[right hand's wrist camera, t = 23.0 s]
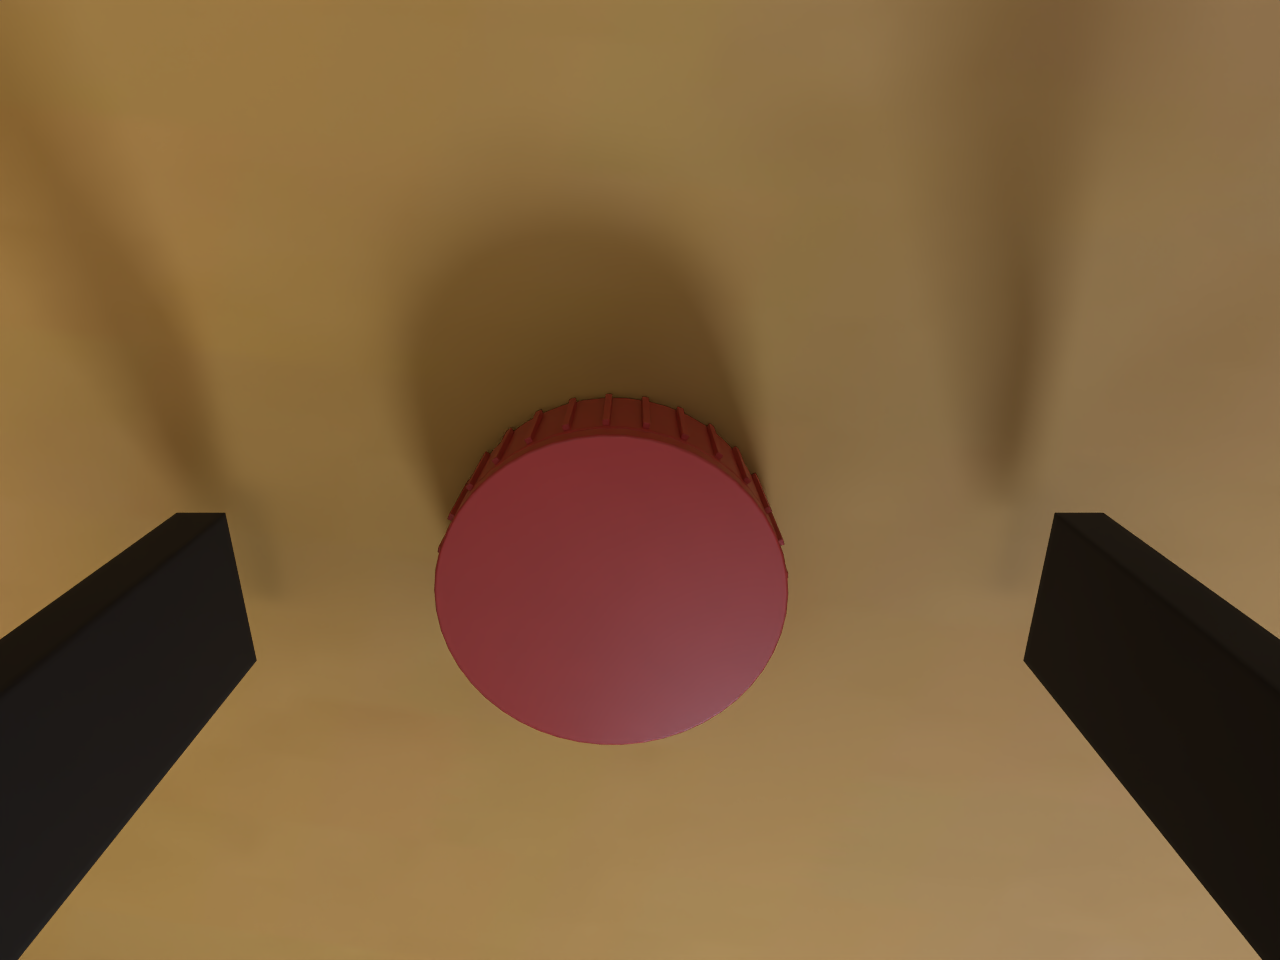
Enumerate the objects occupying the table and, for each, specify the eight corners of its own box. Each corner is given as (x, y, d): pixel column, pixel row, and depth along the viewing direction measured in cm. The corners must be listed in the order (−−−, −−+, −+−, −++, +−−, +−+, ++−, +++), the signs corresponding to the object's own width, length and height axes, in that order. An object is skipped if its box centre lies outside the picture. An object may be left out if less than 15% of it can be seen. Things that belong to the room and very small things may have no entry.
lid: (626, 724, 15) (626, 803, 13) (394, 554, 14) (355, 615, 12) (836, 534, 14) (869, 592, 12) (599, 321, 12) (593, 348, 11)
